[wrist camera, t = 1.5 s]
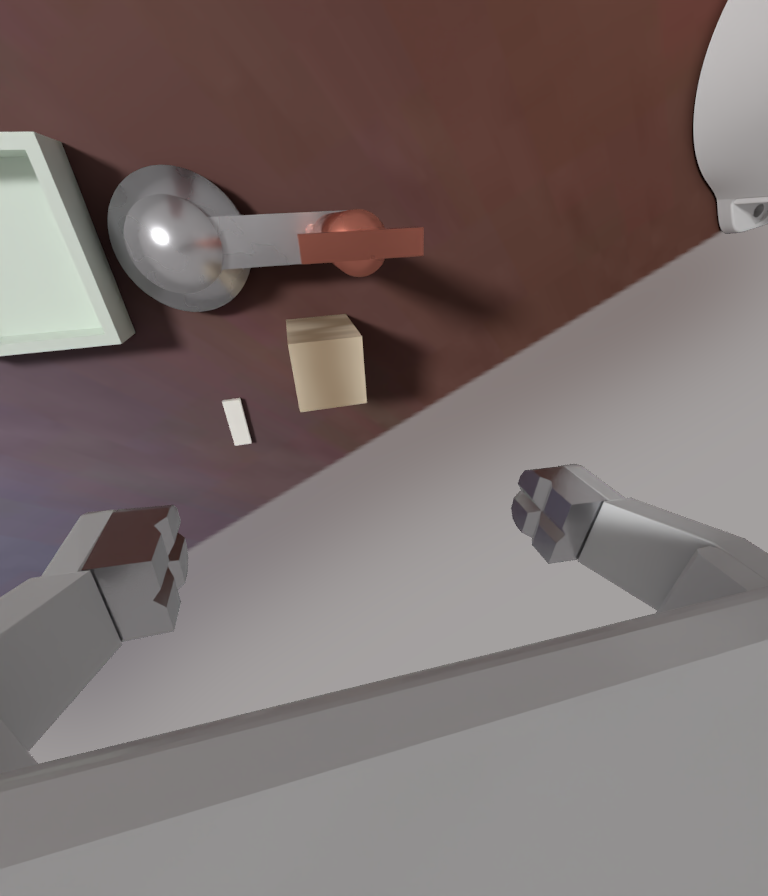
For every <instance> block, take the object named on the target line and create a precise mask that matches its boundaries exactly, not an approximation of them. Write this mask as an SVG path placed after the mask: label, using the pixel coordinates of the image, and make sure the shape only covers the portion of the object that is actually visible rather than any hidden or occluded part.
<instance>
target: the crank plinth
mask: <svg viewBox="0 0 768 896" xmlns="http://www.w3.org/2000/svg"><path fill="white" fill-rule="evenodd" d="M154 194H168V195H173V196H177V197H181V198H184V199H187V200H189V201H192V202H194V203H195V204H197V205H199V206H200V207H201V208H203V209H204V210H205V211H206V212H207V213H208V214H209V215H210V216H211V217H217V216H239V215H241V213H240V212H239V210H238V209H237V207H236V206H235V204H234V203H233V202H232V201H231V199H230V198H229V197H228V196H227V195H226V194H225V193H224V192H223V191H222V190H221V189H220V188H218V187H217V186H216V185H215V184H213V183H212V182H210V181H209V180H207V179H205V178H204V177H202V176H201V175H198V174H196V173H194V172H192V171H190V170H187V169H184V168H181V167H176V166H171V165H154V166H148V167H144V168H141V169H139V170H137V171H135V172H133V173H131V174H130V175H128V176H127V177H126V178H125V179H124V180H123V181H122V182H121V183H120V184H119V185H118V187H117V188H116V190H115V191H114V194H113V196H112V198H111V201H110V205H109V209H108V218H107V221H108V232H109V238H110V242H111V245H112V248H113V251H114V253H115V255H116V257H117V259H118V261H119V263H120V265H121V266H122V268H123V269H124V271H125V272H126V273H127V275H128V276H129V277H130V278H131V279H132V281H133V282H134V283H135V284H136V285H137V286H138V287H139V288H140V289H142V290H143V291H144V292H145V293H147V294H148V295H149V296H151V297H152V298H154V299H156V300H157V301H159V302H161V303H163V304H165V305H167V306H170V307H173V308H176V309H180V310H184V311H192V312H202V311H209V310H213V309H216V308H219V307H221V306H223V305H225V304H227V303H228V302H230V301H231V300H232V299H233V298H234V297H235V296H237V294H238V293H239V292H240V291H241V289H242V288H243V286H244V284H245V282H246V281H247V278H248V276H249V273H250V269H251V268H238V269H224V270H222V272H221V274H220V275H219V277H218V278H217V279H216V280H215V281H214V282H213V283H212V284H211V285H209V286H208V287H207V288H205V289H203V290H201V291H199V292H195V293H189V294H182V293H175V292H171V291H168V290H165V289H163V288H161V287H159V286H157V285H155V284H154V283H152V282H151V281H150V280H148V279H147V278H146V277H145V276H144V275H143V274H142V273H141V272H140V271H139V270H138V268H137V267H136V266H135V264H134V263H133V261H132V259H131V258H130V256H129V253H128V251H127V248H126V245H125V240H124V223H125V219H126V216H127V214H128V212H129V210H130V209H131V207H132V206H133V205H134V204H135V203H136V202H137V201H139V200H140V199H142V198H144V197H146V196H150V195H154Z"/></svg>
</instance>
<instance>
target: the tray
mask: <svg viewBox="0 0 768 896" xmlns="http://www.w3.org/2000/svg"><path fill="white" fill-rule="evenodd" d="M134 334H135V330H134V327H133V325H132V322H131V320H130V317H129V315H128V312H127V309H126V307H125V304H124V302H123V299H122V297H121V294H120V291H119V289H118V286H117V284H116V281H115V279H114V276H113V273H112V271H111V268H110V266H109V263H108V261H107V258H106V256H105V253H104V250H103V248H102V245H101V243H100V240H99V238H98V235H97V232H96V230H95V227H94V225H93V222H92V220H91V217H90V214H89V212H88V209H87V207H86V204H85V202H84V199H83V196H82V194H81V191H80V189H79V186H78V184H77V181H76V178H75V176H74V173H73V171H72V168H71V166H70V163H69V160H68V158H67V155H66V153H65V150H64V148H63V145H62V143H61V142H60V141H57V140H54V139H52V138H49V137H46V136H44V135H41V134H38V133H35V132H0V356H7V355H17V354H27V353H37V352H47V351H57V350H67V349H77V348H87V347H96V346H106V345H116V344H122V343H123V342H125V341H126V340H127V339H129V338H130V337H131V336H132V335H134Z"/></svg>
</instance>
